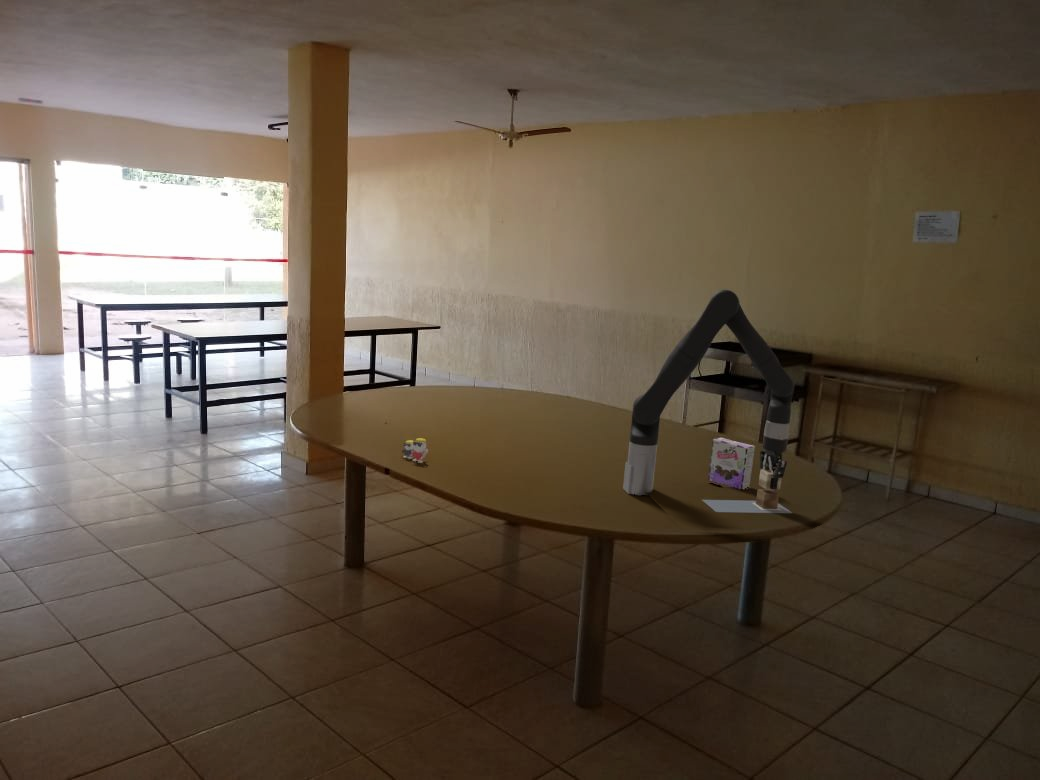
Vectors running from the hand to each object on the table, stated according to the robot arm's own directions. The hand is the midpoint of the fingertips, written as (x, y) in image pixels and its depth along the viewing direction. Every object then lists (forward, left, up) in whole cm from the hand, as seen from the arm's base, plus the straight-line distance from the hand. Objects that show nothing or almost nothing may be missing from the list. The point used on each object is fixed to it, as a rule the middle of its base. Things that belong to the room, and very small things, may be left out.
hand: (769, 486), depth 256 cm
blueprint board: (-7, 0, -8) cm, 11 cm away
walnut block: (0, 0, -7) cm, 7 cm away
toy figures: (-112, +51, -8) cm, 123 cm away
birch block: (0, 0, 0) cm, 0 cm away
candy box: (-2, +25, -8) cm, 26 cm away
